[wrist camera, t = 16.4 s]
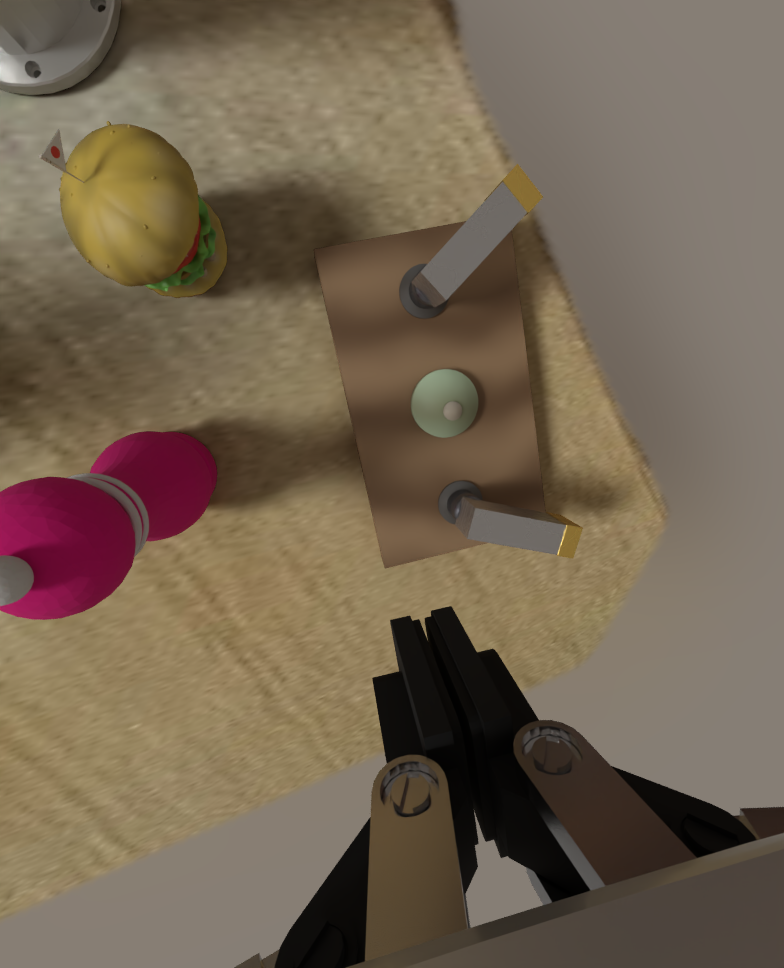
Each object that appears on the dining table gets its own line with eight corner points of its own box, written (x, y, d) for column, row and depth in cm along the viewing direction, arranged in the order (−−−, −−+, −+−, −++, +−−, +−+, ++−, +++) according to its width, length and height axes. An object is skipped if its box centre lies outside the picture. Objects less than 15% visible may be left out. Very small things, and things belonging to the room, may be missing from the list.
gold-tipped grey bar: (425, 316, 32) (445, 304, 27) (401, 290, 32) (417, 272, 26) (506, 228, 32) (543, 197, 26) (484, 200, 31) (516, 163, 26)
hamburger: (221, 321, 33) (163, 291, 21) (114, 289, 31) (-11, 237, 20) (244, 209, 31) (196, 110, 20) (133, 170, 30) (11, 39, 18)
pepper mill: (242, 461, 35) (140, 563, 16) (191, 534, 36) (35, 716, 17) (157, 405, 33) (-76, 443, 14) (105, 483, 34) (-183, 622, 15)
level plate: (314, 256, 33) (313, 245, 30) (499, 222, 34) (515, 208, 31) (382, 558, 39) (386, 573, 36) (536, 520, 40) (553, 532, 37)
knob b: (443, 515, 36) (464, 540, 30) (451, 486, 35) (473, 506, 30) (537, 532, 37) (572, 559, 32) (545, 505, 37) (583, 527, 31)
